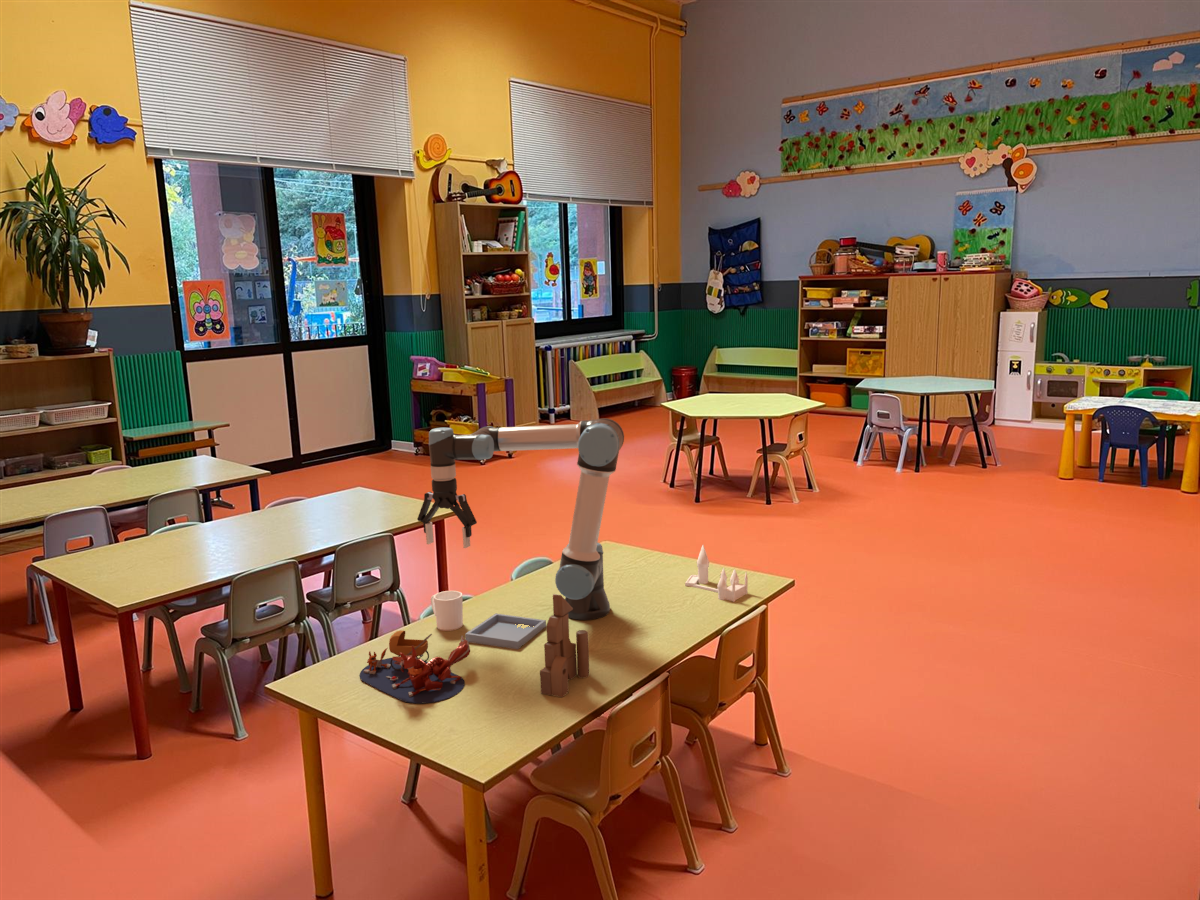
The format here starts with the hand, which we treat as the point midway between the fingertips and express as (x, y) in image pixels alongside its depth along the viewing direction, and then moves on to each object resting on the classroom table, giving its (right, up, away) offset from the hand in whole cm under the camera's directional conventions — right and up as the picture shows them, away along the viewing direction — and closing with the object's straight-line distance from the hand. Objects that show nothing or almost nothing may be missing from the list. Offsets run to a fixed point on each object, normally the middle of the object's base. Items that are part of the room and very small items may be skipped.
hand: (448, 545), depth 276 cm
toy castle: (+85, -20, +26) cm, 91 cm away
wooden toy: (+38, -33, -39) cm, 64 cm away
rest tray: (+18, -27, -4) cm, 33 cm away
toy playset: (-2, -33, -29) cm, 44 cm away
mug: (-1, -26, +5) cm, 27 cm away
